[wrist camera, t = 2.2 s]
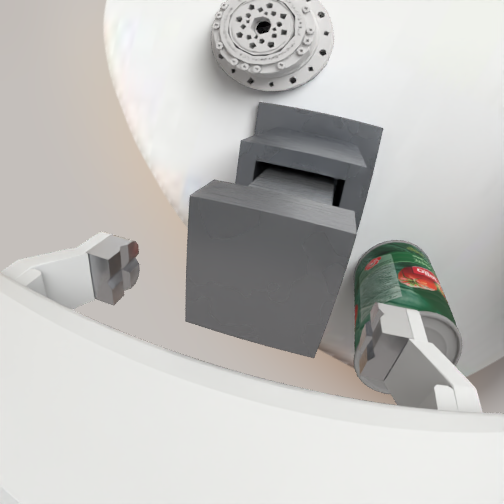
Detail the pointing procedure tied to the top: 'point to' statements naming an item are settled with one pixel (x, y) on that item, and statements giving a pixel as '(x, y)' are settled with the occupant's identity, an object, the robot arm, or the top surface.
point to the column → (267, 258)
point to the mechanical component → (272, 42)
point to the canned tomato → (403, 297)
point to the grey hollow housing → (313, 150)
